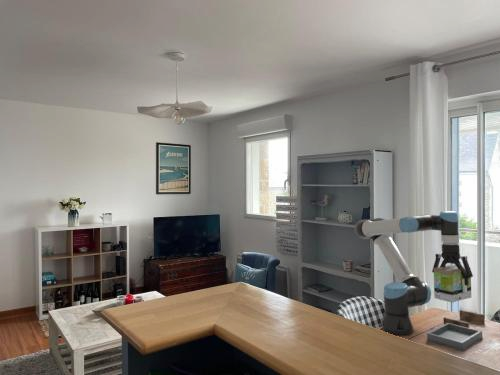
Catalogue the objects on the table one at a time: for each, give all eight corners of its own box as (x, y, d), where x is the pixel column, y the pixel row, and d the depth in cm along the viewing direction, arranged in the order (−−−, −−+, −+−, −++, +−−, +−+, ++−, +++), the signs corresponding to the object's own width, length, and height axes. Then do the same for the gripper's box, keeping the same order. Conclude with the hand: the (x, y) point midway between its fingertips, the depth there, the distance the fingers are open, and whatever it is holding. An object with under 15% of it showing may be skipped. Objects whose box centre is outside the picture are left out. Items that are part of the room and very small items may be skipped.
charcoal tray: (427, 340, 179) (426, 333, 179) (448, 329, 192) (447, 322, 192) (462, 350, 167) (462, 342, 167) (482, 338, 179) (482, 331, 180)
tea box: (454, 303, 172) (452, 270, 172) (433, 298, 180) (432, 267, 180) (472, 297, 179) (470, 266, 180) (452, 293, 188) (450, 263, 188)
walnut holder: (443, 327, 196) (443, 317, 196) (460, 318, 207) (460, 309, 208) (468, 333, 186) (467, 323, 186) (484, 324, 198) (484, 314, 198)
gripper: (479, 244, 173) (482, 292, 173) (430, 241, 192) (432, 284, 191) (472, 246, 169) (475, 296, 168) (422, 242, 187) (425, 287, 187)
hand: (452, 290), depth 180 cm, fingers closed on tea box, 10 cm apart
